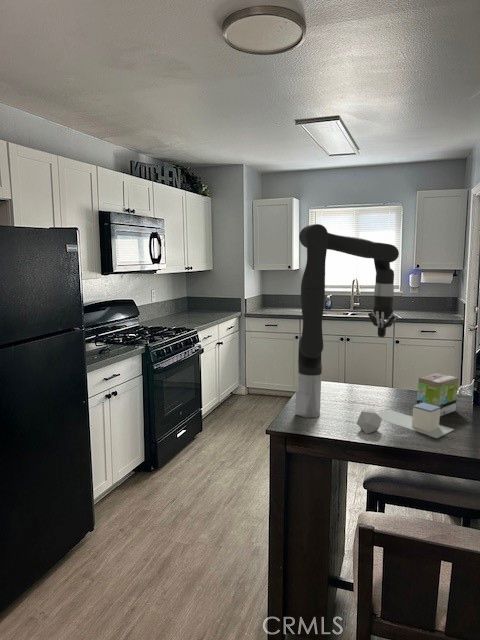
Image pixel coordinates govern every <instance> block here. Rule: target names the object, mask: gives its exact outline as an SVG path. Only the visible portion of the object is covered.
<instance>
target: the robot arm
mask: <svg viewBox="0 0 480 640" xmlns="http://www.w3.org/2000/svg"><path fill="white" fill-rule="evenodd" d="M298 235H299V237H298V238H299V242H300V244H301V245H302V246H303V247H304V248H306V257H307V258H306V264H305V268H304V270H303V271H304V272H303V274H302V278H301V282H300V283H301V284H300V308H301V315H302V330H301V331H302V332H301V335H300V337H299V340H298V354H297V355H298V356H297V357H298V360H297V364H298V365H297V366H298V370H297V371H298V372H297V376H298V377H297V390H296V391H295V410H294V411H295V413H294V414H295V415H297V416H299V417H303V418H305V419H310V418H318V417H319V416H320V415H321V396H322V375H323V374H322V372H323V370H322V369H323V367H322V352H323V350H324V337H323V336H324V335H323V317H324V316H323V315H324V309H325V294H326V261H327V260H326V259H327V253H328V252H327V250H331V251H336V252H338V253H339V252H340V253H343V254H348V255H350V256H355V257H360V258H364V259H373V263H374V269H375V285H374V290H373V292H374V293H373V294H374V295H373V306H374V307H373V308H372V311H371V312H369V313H368V314H367V316H368V317H369V319H370V320H371V323H372V324H373V325H374V326H375V327H377V336H378V338H385V337H386V332H387V331H386V330H387V328H390V327H392V325H393V324H394V323H395V322H396V320H398V318H399V317H398V315H395V313H394V310H393V308H394V307H393V306H394V295H395V287H394V285H395V283H394V281H395V271H394V270H393V269H392V268H391V264H390V263H394V262H395V261H396V260H397V259H398V258H399V255H400V251H399V249H398V247H396V245H393V244H390V243H384V242H376V241H372V240H369V239H365V238H361V237H360V238H359V237H356V236H350V235H349V236H348V235H340V234H335V233H331V232H329V231H328V229H327V227H325V226H324V225H323V224H321V223H314V224H309V225H306V226H305V227H303V228H302V229H301V230H300V232H299V234H298Z"/></svg>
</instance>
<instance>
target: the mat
mask: <svg viewBox="0 0 480 640" xmlns="http://www.w3.org/2000/svg"><path fill="white" fill-rule="evenodd" d="M376 414H377V415H379V416H380V417H381V418H382V421H383V422H387V423H390V424H393V425H397V426H400V427H402V428H406V429H409V430H412V431H415V432H419V433H421V434H423V435H427V436H428V437H430V438H431V437H432V438H435V439H439V438H441V437H444V436H445V435H447V434H449V433H451V432H455V430H456V429H455V428H452V427H449V426H445V425H442V424H439V428H437V429H435V430H432V431H430V432H428V431H425V430H422V429H419V428H416V427H412V415H408V414H405V413H402V412H398V411H395V410H392V409H386V410H382V411H381V412H378V413H377V412H376Z"/></svg>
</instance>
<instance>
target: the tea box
mask: <svg viewBox="0 0 480 640" xmlns="http://www.w3.org/2000/svg"><path fill="white" fill-rule="evenodd" d="M417 384H418V385H417V393H416V404H415V405H417V404H420V403H422V402H424V403H427V404H431V405H435V406H439V407H440V417H442V416H445V415H447V414H450V413H454V412H456V407H457V397H458V389H459V388H458V386H459V377H457V376H452V375H448V374H443V373H440V372H439V373H438V372H436V373H431V374H428V375H424V376H422V377H421V376H420V377H419V378H418V383H417Z"/></svg>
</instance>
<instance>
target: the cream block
mask: <svg viewBox="0 0 480 640" xmlns="http://www.w3.org/2000/svg"><path fill="white" fill-rule="evenodd" d="M411 416H412V427H416V428H419V429H422V430H425V431H428V432H430V431H432V430H435V429H437V428H439V425H440V419H441V416H440V407H439V406H435V405H431V404H427V403H424V402H422V403H420V404H417V405H416V404H415V405H414V404H413V406H412V415H411Z"/></svg>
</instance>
